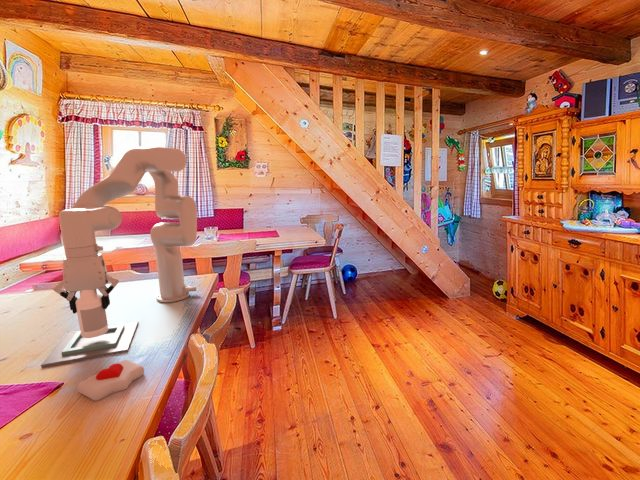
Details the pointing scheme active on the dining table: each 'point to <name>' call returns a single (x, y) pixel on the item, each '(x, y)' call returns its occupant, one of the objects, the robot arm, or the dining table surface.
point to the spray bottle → (91, 314)
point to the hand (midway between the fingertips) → (91, 309)
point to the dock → (92, 345)
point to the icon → (110, 380)
